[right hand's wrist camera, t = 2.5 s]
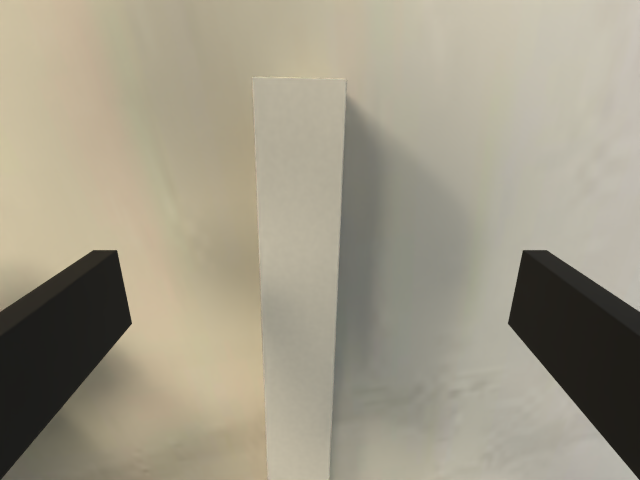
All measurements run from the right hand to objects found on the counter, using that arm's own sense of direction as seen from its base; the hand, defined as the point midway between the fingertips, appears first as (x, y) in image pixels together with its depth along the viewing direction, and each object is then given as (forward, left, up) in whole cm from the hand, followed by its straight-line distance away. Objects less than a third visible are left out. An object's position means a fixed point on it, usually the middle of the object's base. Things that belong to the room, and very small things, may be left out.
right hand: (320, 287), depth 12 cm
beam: (+16, -19, -16) cm, 29 cm away
